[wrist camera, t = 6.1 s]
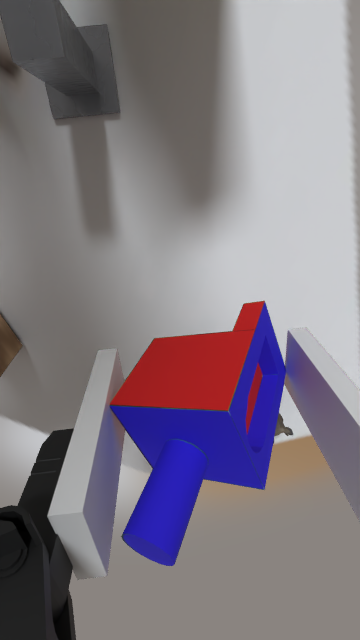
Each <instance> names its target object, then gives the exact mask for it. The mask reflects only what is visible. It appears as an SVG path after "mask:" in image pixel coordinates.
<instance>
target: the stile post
mask: <svg viewBox="0 0 360 640" xmlns="http://www.w3.org/2000/svg"><path fill="white" fill-rule="evenodd" d="M0 15H1V19H2V22H3V26H4V30H5V34H6V38H7V41H8V45H9V49H10V53H11V56H12V60H13V62H14V63H16V64H17V65H19V66H20V67H22V68H23V69H25V70H27V71H28V72H30V73H31V74H33V75H34V76H36V77H38V78H39V79H41V80H42V81H44V82H45V85H46V90H47V94H48V98H49V102H50V107H51V111H52V115H53V118H54V119H59V118H69V117H79V116H89V115H99V114H109V113H119V112H120V108H119V101H118V94H117V88H116V81H115V74H114V67H113V61H112V54H111V47H110V41H109V34H108V27H107V24H106V25H96V26H85V27H76V26H75V24H74V22H73V21H72V19H71V18H70V16H69V15H68V13H67V12H66V10H65V8H64V7H63V5H62V4H61V2H60V1H59V0H0Z"/></svg>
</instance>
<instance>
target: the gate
mask: <svg viewBox="0 0 360 640" xmlns="http://www.w3.org/2000/svg"><path fill="white" fill-rule="evenodd" d="M22 346H23V345H22V344H21V342H20V341H19V340H18V338H17V337H16V336H15V334H14V333H13V331H12V330H11V329H10V327H9V326H8V324H7V323H6V322H5V320H4V319H3V318H2V316H1V315H0V377H1V375H2V374H3V372H4V371H5V370H6V368H7V367H8V365H9V364H10V363H11V361H12V360H13V358H14V357H15V356H16V354H17V353H18V351H19V350H20V349H21V347H22Z"/></svg>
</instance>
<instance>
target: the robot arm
mask: <svg viewBox="0 0 360 640" xmlns="http://www.w3.org/2000/svg"><path fill="white" fill-rule="evenodd" d="M285 368H286V375H285V381H284V384H285V386H286V388H287V390H288V392H289V394H290V395H291V397H292V399H293V401H294V403H295V405H296V406H297V408H298V410H299V412H300V414H301V416H302V417H303V419H304V421H305V423H306V425H307V427H308V428H309V430H310V432H311V434H312V436H313V437H314V439H315V441H316V443H317V445H318V447H319V448H320V450H321V452H322V454H323V456H324V458H325V459H326V461H327V463H328V465H329V466H330V469H331V470H332V472H333V474H334V476H335V478H336V479H337V481H338V483H339V485H340V487H341V489H342V490H343V492H344V494H345V496H346V498H347V500H348V501H349V503H350V505H351V507H352V509H353V511H354V512H355V514H356V516H357V518H358V520H359V522H360V389H359V388H358V387H357V386H356V384H355V383H354V382H353V381H352V380H351V379H350V377H349V376H348V375H347V374H346V373H345V372H344V370H343V369H342V368H341V367H340V366H339V365H338V363H337V362H336V361H335V360H334V359H333V358H332V356H331V355H330V354H329V353H328V352H327V351H326V349H325V348H324V347H323V346H322V345H321V344H320V342H319V341H318V340H317V339H316V338H315V337H314V335H313V334H312V333H311V332H310V331H309V330H308V328H307V327H306V328H296V329H288V335H287V347H286V360H285ZM123 383H124V377H123V373H122V368H121V363H120V359H119V354H118V349H117V348H113V349H104V350H98V353H97V356H96V359H95V362H94V366H93V369H92V372H91V375H90V379H89V382H88V385H87V388H86V392H85V395H84V398H83V401H82V405H81V408H80V411H79V414H78V418H77V421H76V424H75V427H74V429H66V430H57V431H53V432H52V433H51V435H50V436H49V437H48V438H47V439H46V441H45V442H44V443H43V444H42V446H41V448H40V451H39V454H38V456H37V459H36V463H34V466H33V468H32V471H31V476H29V478H28V481H27V483H26V486H25V488H24V491H23V493H22V496H21V498H20V501H19V503H18V506H12V505H11V506H7V507H3V508H0V640H76V635H75V625H74V615H73V607H72V599H71V595H70V592H69V590H68V589H69V584H70V579H71V574H72V569H73V571H74V573H75V575H76V577H77V579H78V580H79V579H87V578H96V577H104V576H107V573H108V565H109V557H110V549H111V540H112V532H113V524H114V515H115V507H116V499H117V490H118V482H119V474H120V466H121V458H122V450H123V441H124V433H125V428H124V427H123V426H122V424H121V423H120V421H119V420H118V419H117V417H116V416H115V414H114V413H113V412H112V410H111V409H110V406H109V405H110V402H111V401H112V399H113V398H114V396H115V395H116V394H117V392H118V391H119V389H120V388H121V386H122V385H123Z"/></svg>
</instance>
